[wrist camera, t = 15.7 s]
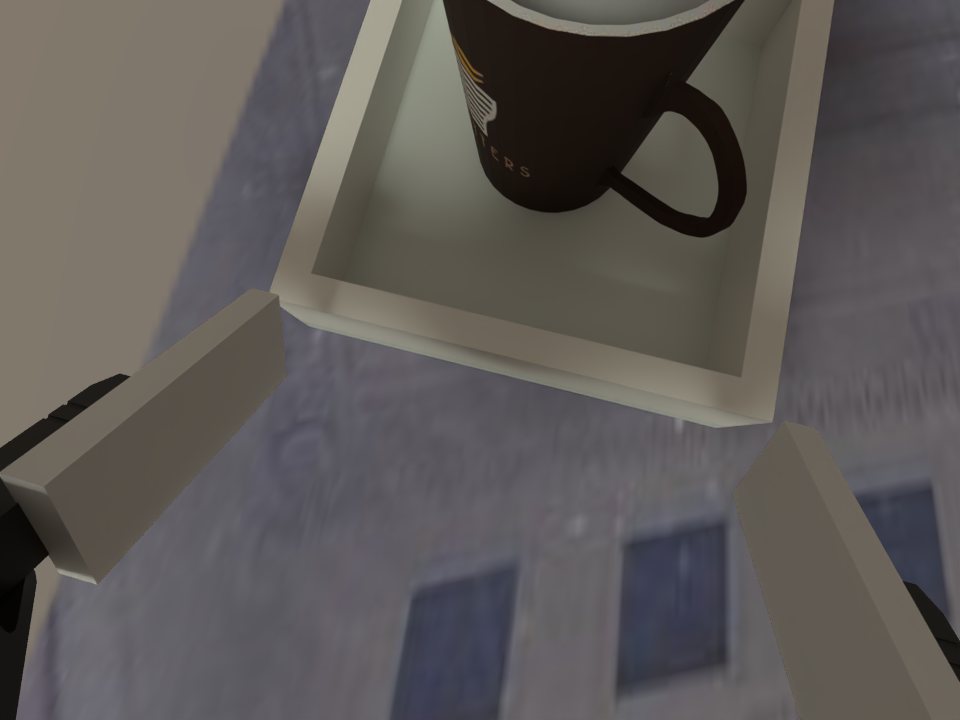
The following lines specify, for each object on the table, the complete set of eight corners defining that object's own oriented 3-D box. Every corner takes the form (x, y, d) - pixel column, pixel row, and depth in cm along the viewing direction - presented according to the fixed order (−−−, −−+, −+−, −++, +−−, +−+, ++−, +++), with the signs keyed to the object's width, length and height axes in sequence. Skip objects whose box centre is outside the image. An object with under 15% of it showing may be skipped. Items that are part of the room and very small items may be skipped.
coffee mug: (452, 60, 22) (421, -259, 12) (644, 55, 22) (772, -272, 12) (452, 309, 20) (414, 170, 10) (665, 305, 20) (843, 160, 10)
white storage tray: (779, 46, 23) (839, -38, 19) (715, 427, 20) (772, 422, 16) (424, -25, 24) (411, -118, 20) (309, 326, 21) (267, 297, 17)
